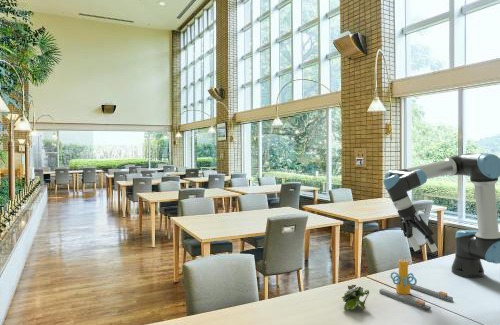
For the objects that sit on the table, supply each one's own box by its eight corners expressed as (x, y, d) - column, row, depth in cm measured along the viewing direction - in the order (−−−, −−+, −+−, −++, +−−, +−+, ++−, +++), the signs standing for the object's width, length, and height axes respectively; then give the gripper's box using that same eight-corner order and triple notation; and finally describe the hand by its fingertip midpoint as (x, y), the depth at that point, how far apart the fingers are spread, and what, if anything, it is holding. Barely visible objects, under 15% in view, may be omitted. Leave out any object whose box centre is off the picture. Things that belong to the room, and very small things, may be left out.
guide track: (379, 292, 173) (379, 287, 173) (404, 284, 184) (404, 279, 183) (427, 311, 153) (428, 305, 153) (452, 300, 163) (453, 295, 163)
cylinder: (418, 298, 166) (418, 265, 166) (393, 296, 168) (394, 264, 168) (412, 288, 178) (412, 257, 178) (389, 286, 180) (389, 256, 180)
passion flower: (351, 316, 161) (359, 290, 166) (370, 321, 152) (378, 293, 156) (333, 306, 157) (342, 279, 162) (352, 310, 148) (361, 282, 153)
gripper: (384, 212, 182) (404, 252, 179) (412, 208, 158) (435, 255, 155) (397, 206, 184) (417, 246, 181) (427, 201, 159) (450, 247, 157)
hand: (425, 250), depth 168 cm, fingers open, 13 cm apart
